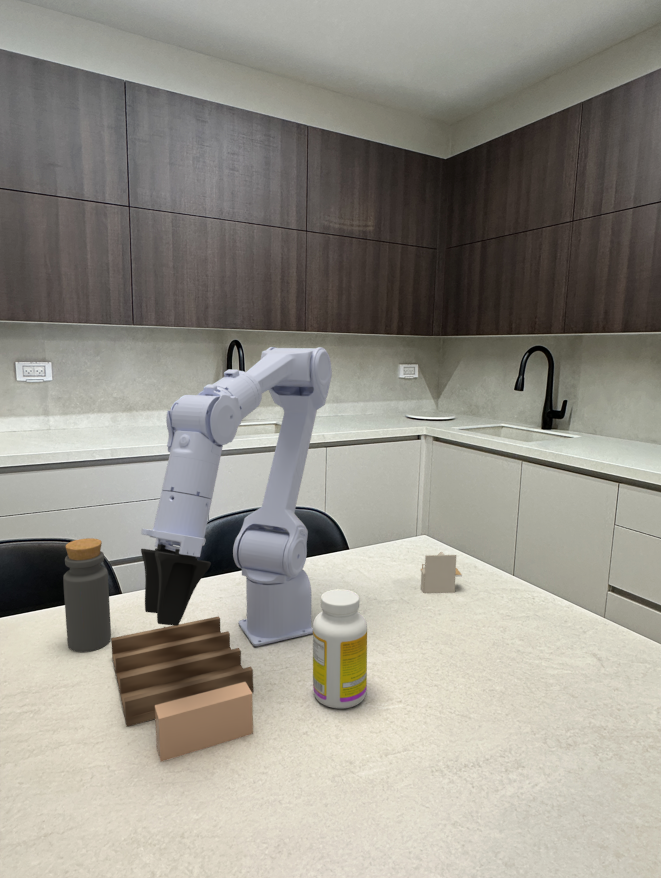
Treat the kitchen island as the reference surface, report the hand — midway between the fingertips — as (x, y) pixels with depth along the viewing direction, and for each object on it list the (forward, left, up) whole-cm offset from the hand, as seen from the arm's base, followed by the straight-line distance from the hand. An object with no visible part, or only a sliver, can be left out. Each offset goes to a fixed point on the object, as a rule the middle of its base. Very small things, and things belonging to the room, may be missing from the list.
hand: (160, 618), depth 61 cm
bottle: (+6, -24, -13) cm, 28 cm away
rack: (-4, -10, -13) cm, 17 cm away
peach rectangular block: (-4, +4, -13) cm, 14 cm away
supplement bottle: (-21, +3, -13) cm, 25 cm away
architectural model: (-51, -17, -14) cm, 55 cm away
